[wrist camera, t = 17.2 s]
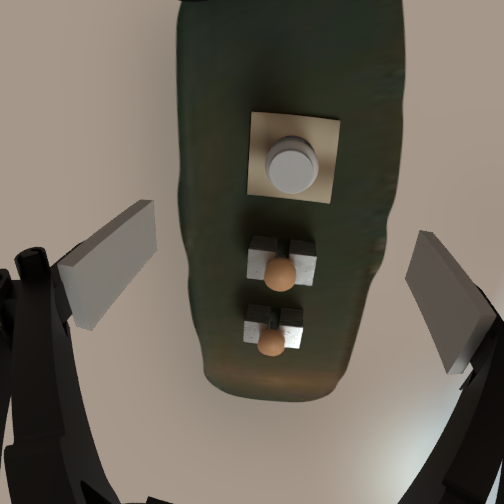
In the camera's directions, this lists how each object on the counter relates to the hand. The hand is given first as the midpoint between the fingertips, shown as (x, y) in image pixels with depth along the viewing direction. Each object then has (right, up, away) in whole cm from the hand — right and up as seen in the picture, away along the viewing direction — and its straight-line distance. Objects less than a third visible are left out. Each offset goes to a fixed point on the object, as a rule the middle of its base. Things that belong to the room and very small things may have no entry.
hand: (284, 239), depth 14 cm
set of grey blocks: (+2, -6, +28) cm, 29 cm away
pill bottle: (+3, +10, +20) cm, 23 cm away
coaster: (+3, +10, +20) cm, 23 cm away
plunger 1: (+2, -1, +25) cm, 25 cm away
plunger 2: (+2, -11, +30) cm, 32 cm away
